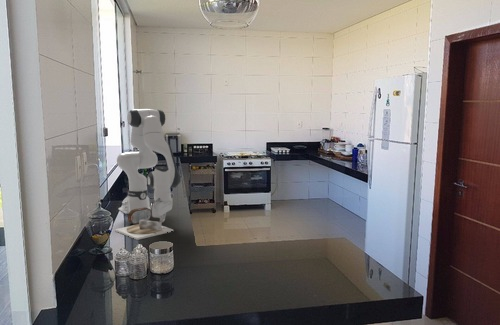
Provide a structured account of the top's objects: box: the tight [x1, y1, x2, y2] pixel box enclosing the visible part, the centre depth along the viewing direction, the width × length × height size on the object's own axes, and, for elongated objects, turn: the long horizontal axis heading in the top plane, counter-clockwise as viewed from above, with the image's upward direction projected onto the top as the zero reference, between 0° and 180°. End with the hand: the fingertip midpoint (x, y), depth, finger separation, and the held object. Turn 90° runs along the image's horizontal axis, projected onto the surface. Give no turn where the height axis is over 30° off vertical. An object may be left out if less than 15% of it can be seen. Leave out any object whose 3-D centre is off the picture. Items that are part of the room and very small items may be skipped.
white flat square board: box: [114, 225, 174, 241], centre depth 209 cm, size 22×22×1 cm
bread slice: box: [127, 207, 152, 225], centre depth 226 cm, size 15×3×8 cm, turn 141°
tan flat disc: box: [127, 219, 163, 234], centre depth 209 cm, size 19×18×5 cm
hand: (162, 221), depth 214 cm, fingers closed
